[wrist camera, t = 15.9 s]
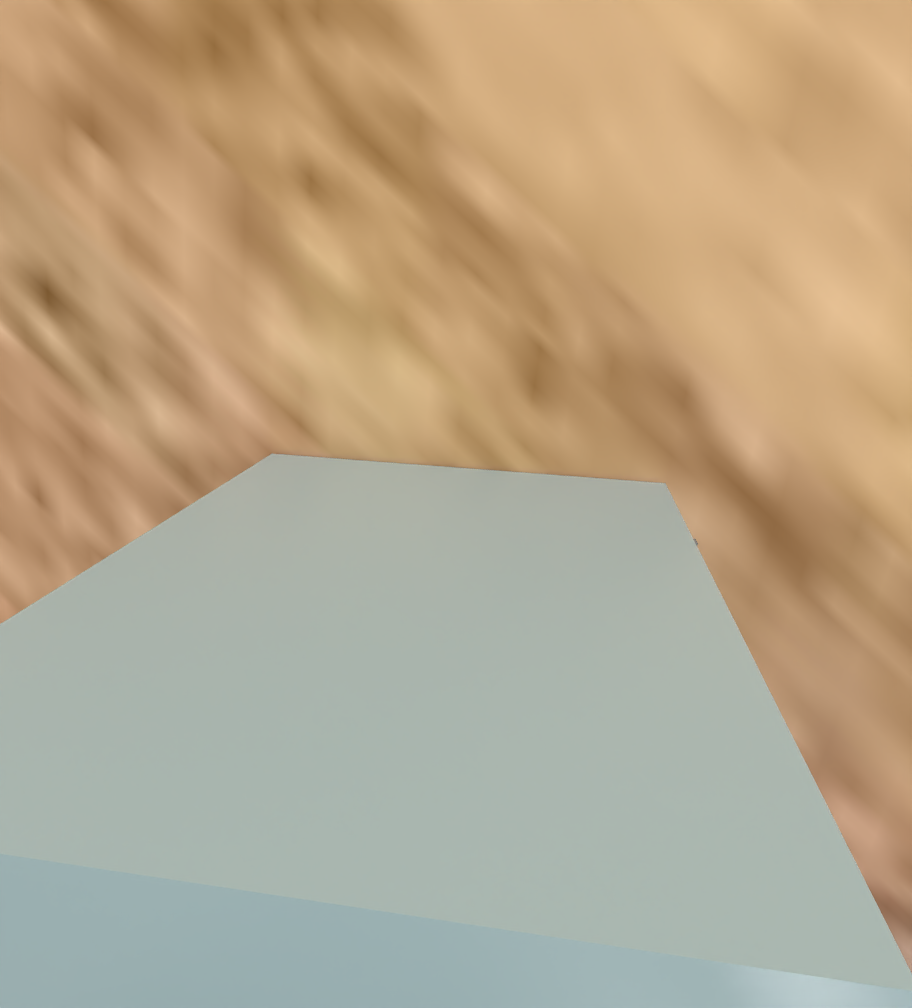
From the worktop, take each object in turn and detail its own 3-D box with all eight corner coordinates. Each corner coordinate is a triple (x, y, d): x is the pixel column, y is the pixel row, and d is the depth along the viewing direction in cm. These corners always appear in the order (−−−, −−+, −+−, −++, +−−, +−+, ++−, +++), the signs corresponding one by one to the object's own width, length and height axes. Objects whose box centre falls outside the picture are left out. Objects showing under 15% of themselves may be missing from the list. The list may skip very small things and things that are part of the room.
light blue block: (665, 483, 12) (921, 992, 3) (603, 938, 15) (657, 1793, 6) (272, 453, 13) (-295, 810, 4) (290, 892, 16) (-18, 1599, 7)
